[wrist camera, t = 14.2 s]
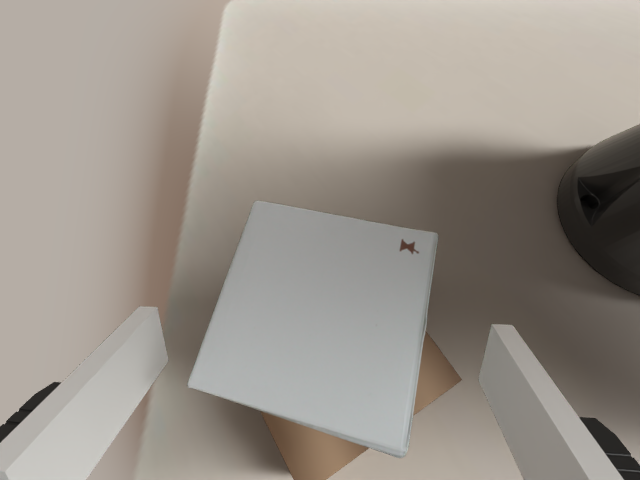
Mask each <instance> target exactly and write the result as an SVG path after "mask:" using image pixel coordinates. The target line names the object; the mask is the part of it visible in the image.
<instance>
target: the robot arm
mask: <svg viewBox="0 0 640 480" xmlns="http://www.w3.org/2000/svg"><path fill="white" fill-rule="evenodd" d="M557 202H558V212H559V216H560V220H561V223H562V226H563V228H564V231H565V233H566V235H567V236H568V238H569V240H570V242H571V243H572V245H573V246H574V247H575V249H576V250H577V251H578V253H579V254H580V255H581V256H582V257H583V258H584V259H585V260H586V261H587V262H588V263H589V264H590V265H591V266H592V267H593V268H594V269H595V270H597V271H598V272H599V273H600V274H602V275H603V276H604V277H606V278H607V279H609V280H610V281H612V282H613V283H615V284H617V285H619V286H620V287H622V288H624V289H626V290H628V291H631V292H633V293H635V294H638V295H640V124H639V125H636V126H634V127H632V128H630V129H627V130H625V131H623V132H621V133H619V134H616V135H614V136H612V137H610V138H607V139H605V140H603V141H601V142H600V143H598V144H596V145H595V146H593V147H592V148H591V149H589V150H588V151H587V152H586V153H585V154H583V155H582V156H581V157H580V158H579V159H578V160H577V161H576V162H575V163H574V164H573V165H572V166H571V167H570V168H569V169H568V170H567V172H566V173H565V175H564V176H563V178H562V181H561V183H560V186H559V190H558V200H557ZM168 361H169V360H168V355H167V350H166V346H165V341H164V336H163V331H162V327H161V322H160V317H159V313H158V308H157V307H145V306H139V307H138V308H137V309H136V310H135V311H134V312H133V313H132V314H131V315H130V316H129V317H128V318H127V319H126V320H125V321H124V322H123V323H122V324H121V325H120V326H119V327H118V328H117V329H116V330H115V331H114V332H113V333H112V334H111V335H109V336H108V337H107V338H106V340H104V341H103V342H102V343H101V344H100V345H99V346H98V347H97V348H96V349H95V350H94V351H93V352H92V353H91V354H90V355H89V356H88V357H87V358H86V359H85V360H84V361H83V362H82V363H81V364H80V365H79V366H78V367H77V368H76V369H75V370H74V371H73V372H72V373H71V374H70V375H69V376H68V377H67V378H66V379H65V380H64V381H63V382H62V383H59V382H54V383H52V384H50V385H49V386H47V387H46V388H44V389H43V390H41V391H39V392H38V393H36V394H35V395H34V396H33V397H31V399H29V400H28V401H27V402H26V403H25V404H24V405H23V406H22V407H21V408H20V409H19V411H18V412H16V413H14V414H13V415H12V416H11V417H10V418H9V419H8V420H7V421H6V424H3V425H2V426H0V480H86V479H87V478H88V476H89V475H90V473H91V472H92V471H93V469H94V468H95V466H96V465H97V463H98V462H99V460H100V459H101V458H102V456H103V455H104V453H105V452H106V450H107V449H108V447H109V446H110V444H111V443H112V442H113V440H114V439H115V437H116V436H117V434H118V433H119V432H120V430H121V429H122V427H123V426H124V424H125V423H126V421H127V420H128V419H129V417H130V416H131V414H132V413H133V411H134V410H135V409H136V407H137V406H138V404H139V403H140V401H141V400H142V398H143V397H144V396H145V394H146V393H147V391H148V390H149V388H150V387H151V385H152V384H153V383H154V381H155V380H156V378H157V377H158V375H159V374H160V372H161V371H162V370H163V368H164V367H165V365H166V364H167V362H168ZM478 380H479V383H480V385H481V387H482V389H483V391H484V394H485V396H486V398H487V400H488V402H489V404H490V407H491V409H492V411H493V413H494V415H495V418H496V420H497V422H498V424H499V426H500V429H501V431H502V433H503V435H504V437H505V439H506V442H507V444H508V446H509V448H510V450H511V453H512V455H513V457H514V459H515V461H516V464H517V466H518V468H519V470H520V472H521V475H522V477H523V479H524V480H640V465H639V464H638V463H637V461H636V460H635V459H634V458H632V457H631V454H630V452H629V451H628V450H627V449H626V447H625V446H624V445H623V444H622V442H621V441H620V440H619V439H618V437H617V436H616V435H615V434H614V433H613V432H611V431H610V430H609V429H608V428H607V427H605V426H604V425H603V424H602V423H600V422H599V421H598V420H597V419H596V418H583V417H578V415H577V414H576V413H575V411H574V410H573V408H572V407H571V406H570V404H569V403H568V401H567V400H566V399H565V397H564V396H563V394H562V393H561V392H560V390H559V389H558V387H557V386H556V385H555V383H554V382H553V381H552V379H551V378H550V376H549V375H548V374H547V372H546V371H545V369H544V368H543V367H542V365H541V364H540V362H539V361H538V360H537V358H536V357H535V356H534V354H533V353H532V351H531V350H530V349H529V347H528V346H527V344H526V343H525V342H524V340H523V339H522V337H521V336H520V335H519V333H518V332H517V330H516V329H515V328H514V326H513V325H503V324H491V328H490V332H489V337H488V341H487V345H486V349H485V354H484V358H483V362H482V366H481V371H480V375H479V379H478Z"/></svg>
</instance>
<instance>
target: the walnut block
mask: <svg viewBox="0 0 640 480" xmlns="http://www.w3.org/2000/svg"><path fill="white" fill-rule="evenodd" d="M461 380H462V379H461V378H460V376H459V375H458V374H457V372H456V371H455V370H454V368H453V367H452V366H451V364H450V363H449V362H448V360H447V359H446V357H445V356H444V355H443V353H442V352H441V351H440V349H439V348H438V347H437V345H436V344H435V342H434V341H433V340H432V338H431V337H430V336H429V334H428V333H427V332H426V331H425V336H424V342H423V348H422V355H421V362H420V369H419V376H418V383H417V390H416V397H415V404H414V412H413V416H414V415H415V414H416V413H418V412H419V411H420V410H422V409H423V408H424V407H426V406H427V405H429V404H430V403H431V402H433V401H434V400H435V399H437V398H438V397H439V396H441V395H442V394H444V393H445V392H446V391H448V390H449V389H450V388H452V387H453V386H454V385H456V384H457V383H459V382H460V381H461ZM260 412H261V414H262V416H263V418H264V420H265V422H266V424H267V426H268V428H269V430H270V432H271V434H272V436H273V438H274V440H275V443H276V445H277V447H278V449H279V451H280V453H281V455H282V457H283V459H284V461H285V463H286V465H287V467H288V469H289V471H290V473H291V475H292V477H293V479H294V480H326V479H328V478H329V477H330V476H332V475H333V474H334V473H336V472H337V471H338V470H340V469H341V468H343V467H344V466H345V465H347V464H348V463H349V462H351V461H352V460H353V459H355V458H356V457H358V456H359V455H360V454H362V453H363V452H364V451H366V450H367V449H368V447H365V446H362V445H359V444H356V443H353V442H350V441H347V440H344V439H341V438H338V437H335V436H332V435H329V434H326V433H323V432H320V431H318V430H315V429H312V428H309V427H306V426H303V425H300V424H297V423H294V422H291V421H288V420H286V419H283V418H280V417H277V416H274V415H271V414H268V413H265V412H262V411H260Z"/></svg>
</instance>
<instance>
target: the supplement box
mask: <svg viewBox="0 0 640 480" xmlns="http://www.w3.org/2000/svg"><path fill="white" fill-rule="evenodd" d="M437 243H438V234H437V233H436V232H430V231H423V230H417V229H411V228H405V227H399V226H394V225H388V224H383V223H377V222H372V221H367V220H361V219H356V218H351V217H346V216H340V215H335V214H330V213H325V212H319V211H314V210H309V209H303V208H298V207H293V206H287V205H282V204H277V203H271V202H265V201H255V202H254V203H253V206H252V208H251V211H250V214H249V217H248V220H247V222H246V225H245V228H244V230H243V233H242V235H241V238H240V241H239V244H238V246H237V249H236V252H235V254H234V257H233V260H232V263H231V265H230V268H229V271H228V274H227V276H226V279H225V282H224V284H223V287H222V290H221V293H220V295H219V298H218V301H217V304H216V306H215V309H214V312H213V314H212V317H211V320H210V323H209V326H208V328H207V331H206V334H205V337H204V339H203V342H202V345H201V348H200V350H199V353H198V356H197V359H196V361H195V364H194V367H193V370H192V372H191V375H190V377H189V380H188V383H187V386H188V388H192V389H196V390H199V391H202V392H205V393H208V394H211V395H214V396H217V397H220V398H223V399H226V400H229V401H232V402H235V403H238V404H241V405H244V406H248V407H251V408H253V409H256V410H259V411H262V412H265V413H268V414H271V415H274V416H277V417H280V418H283V419H286V420H288V421H291V422H294V423H297V424H300V425H303V426H306V427H309V428H312V429H315V430H318V431H320V432H323V433H326V434H329V435H332V436H335V437H338V438H341V439H344V440H347V441H350V442H353V443H356V444H359V445H362V446H365V447H368V448H371V449H374V450H377V451H380V452H383V453H386V454H389V455H392V456H394V457H397V458H402V457H404V456H405V455H406V453H407V450H408V447H409V440H410V433H411V426H412V419H413V412H414V404H415V397H416V390H417V383H418V376H419V369H420V362H421V355H422V348H423V342H424V336H425V331H426V325H427V311H428V304H429V297H430V290H431V283H432V276H433V270H434V263H435V256H436V249H437Z"/></svg>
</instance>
